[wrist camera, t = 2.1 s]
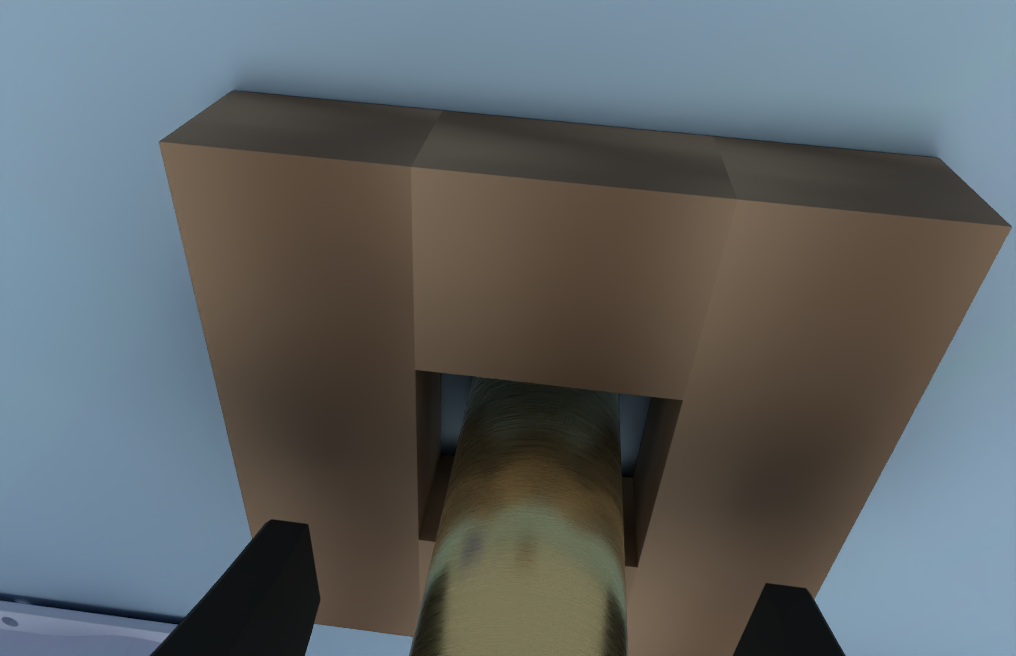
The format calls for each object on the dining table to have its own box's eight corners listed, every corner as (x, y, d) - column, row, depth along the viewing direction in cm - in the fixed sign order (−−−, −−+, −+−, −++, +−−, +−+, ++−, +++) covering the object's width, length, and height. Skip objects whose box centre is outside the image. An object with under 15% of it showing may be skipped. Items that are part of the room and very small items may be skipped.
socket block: (305, 534, 19) (271, 617, 17) (232, 90, 12) (158, 141, 10) (750, 591, 19) (768, 684, 16) (939, 158, 12) (1011, 226, 10)
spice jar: (470, 436, 16) (367, 921, 9) (474, 324, 15) (350, 821, 7) (607, 452, 16) (615, 960, 9) (629, 341, 14) (663, 867, 7)
